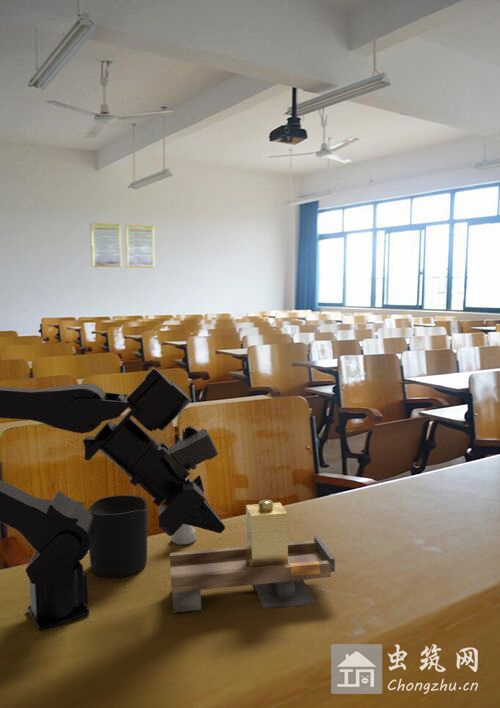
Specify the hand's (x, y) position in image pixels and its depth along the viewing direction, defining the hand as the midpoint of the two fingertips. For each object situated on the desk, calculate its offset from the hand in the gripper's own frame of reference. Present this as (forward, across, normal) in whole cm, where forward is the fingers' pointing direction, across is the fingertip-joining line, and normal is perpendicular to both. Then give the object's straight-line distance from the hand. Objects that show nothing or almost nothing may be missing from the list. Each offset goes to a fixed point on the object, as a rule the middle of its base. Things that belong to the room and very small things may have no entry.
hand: (222, 529), depth 79 cm
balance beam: (+9, 0, +4) cm, 10 cm away
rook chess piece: (+4, +21, +10) cm, 24 cm away
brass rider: (+8, 0, 0) cm, 8 cm away
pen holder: (-4, +13, +18) cm, 22 cm away
